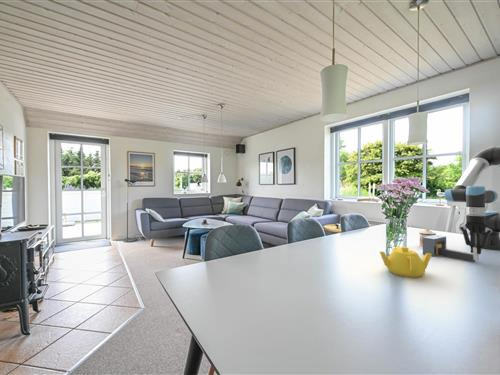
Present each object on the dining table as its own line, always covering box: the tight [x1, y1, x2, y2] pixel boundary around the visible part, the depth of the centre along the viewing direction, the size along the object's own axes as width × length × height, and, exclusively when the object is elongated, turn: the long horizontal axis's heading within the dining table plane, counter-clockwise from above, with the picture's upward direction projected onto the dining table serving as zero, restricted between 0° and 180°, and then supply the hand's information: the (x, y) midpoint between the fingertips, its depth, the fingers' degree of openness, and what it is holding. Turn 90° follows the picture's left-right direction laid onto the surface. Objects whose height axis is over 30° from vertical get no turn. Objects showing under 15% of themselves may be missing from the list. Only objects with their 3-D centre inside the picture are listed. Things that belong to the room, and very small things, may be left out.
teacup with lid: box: [418, 228, 437, 247], centre depth 163 cm, size 12×9×12 cm
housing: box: [422, 234, 447, 257], centre depth 146 cm, size 14×6×10 cm, turn 119°
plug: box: [436, 243, 476, 263], centre depth 140 cm, size 6×22×6 cm, turn 29°
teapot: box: [379, 246, 432, 278], centre depth 116 cm, size 17×17×12 cm
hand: (475, 259), depth 129 cm, fingers closed
